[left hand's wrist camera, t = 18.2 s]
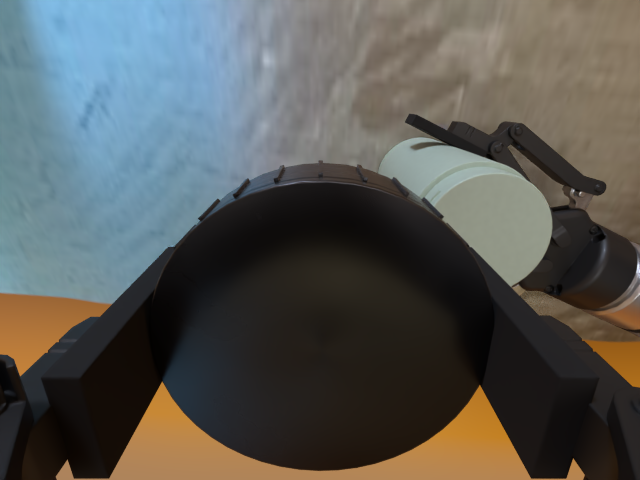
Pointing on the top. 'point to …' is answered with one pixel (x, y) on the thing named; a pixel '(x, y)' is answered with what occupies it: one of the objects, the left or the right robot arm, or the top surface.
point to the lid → (321, 319)
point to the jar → (477, 202)
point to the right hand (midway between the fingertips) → (384, 168)
